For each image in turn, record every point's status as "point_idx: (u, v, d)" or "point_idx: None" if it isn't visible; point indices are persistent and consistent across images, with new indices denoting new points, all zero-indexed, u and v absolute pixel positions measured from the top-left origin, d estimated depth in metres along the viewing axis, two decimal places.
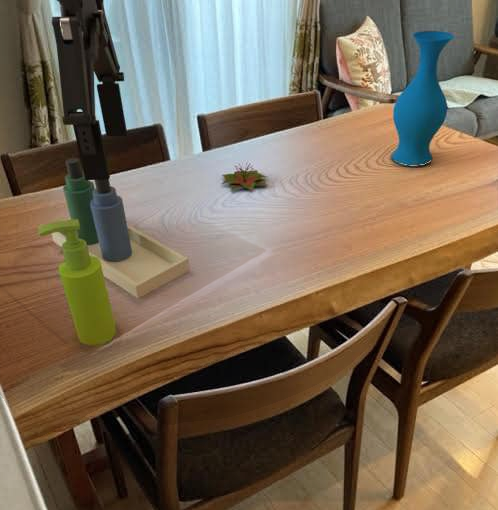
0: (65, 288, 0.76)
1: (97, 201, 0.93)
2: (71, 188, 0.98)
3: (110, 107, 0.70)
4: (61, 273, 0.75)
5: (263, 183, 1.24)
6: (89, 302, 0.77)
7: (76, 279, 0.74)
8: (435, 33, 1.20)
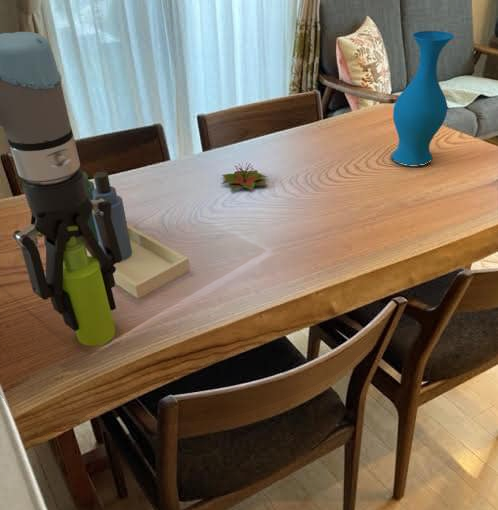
0: (63, 289, 0.76)
1: None
2: None
3: None
4: None
5: (263, 183, 1.24)
6: (88, 303, 0.77)
7: (75, 280, 0.74)
8: (435, 33, 1.20)
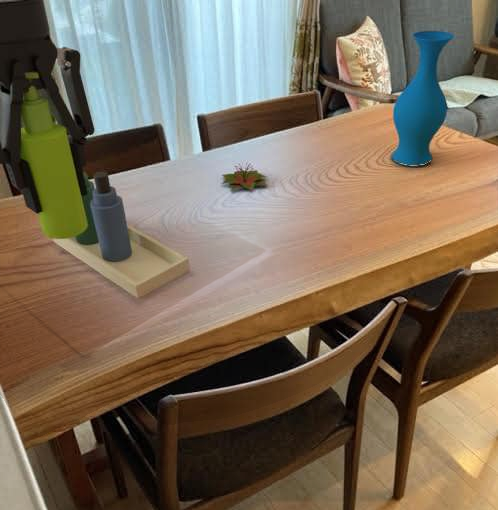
0: (23, 158, 0.64)
1: (97, 201, 0.93)
2: None
3: None
4: None
5: (263, 183, 1.24)
6: (52, 177, 0.65)
7: (35, 143, 0.62)
8: (435, 33, 1.20)
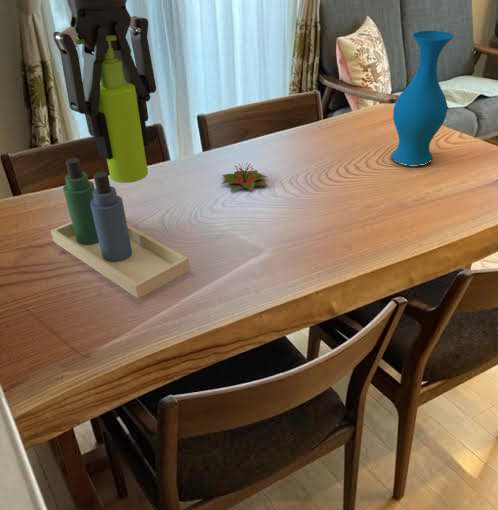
0: (99, 110, 0.76)
1: (97, 201, 0.93)
2: (71, 188, 0.98)
3: None
4: None
5: (263, 183, 1.24)
6: (123, 126, 0.77)
7: (112, 96, 0.74)
8: (435, 33, 1.20)
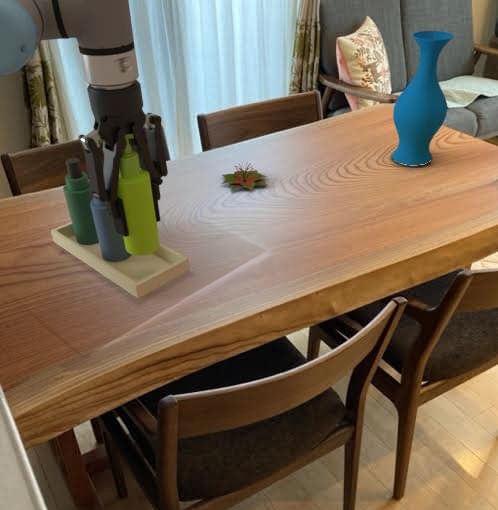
0: (117, 195, 0.85)
1: (97, 201, 0.93)
2: (71, 188, 0.98)
3: None
4: None
5: (263, 183, 1.24)
6: (139, 209, 0.86)
7: (129, 185, 0.83)
8: (435, 33, 1.20)
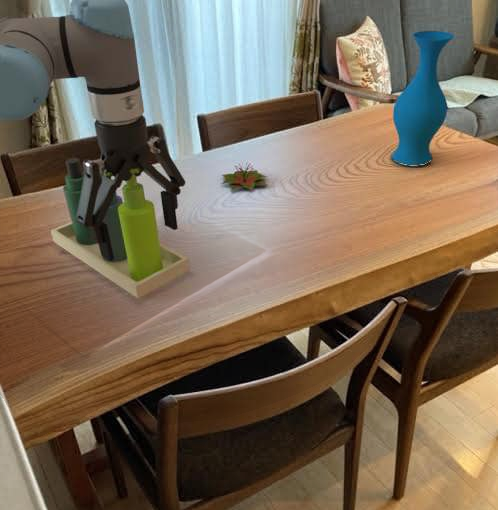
0: (123, 226, 0.89)
1: None
2: (71, 188, 0.98)
3: (166, 208, 0.94)
4: (121, 212, 0.87)
5: (263, 183, 1.24)
6: (143, 239, 0.89)
7: (134, 217, 0.87)
8: (435, 33, 1.20)
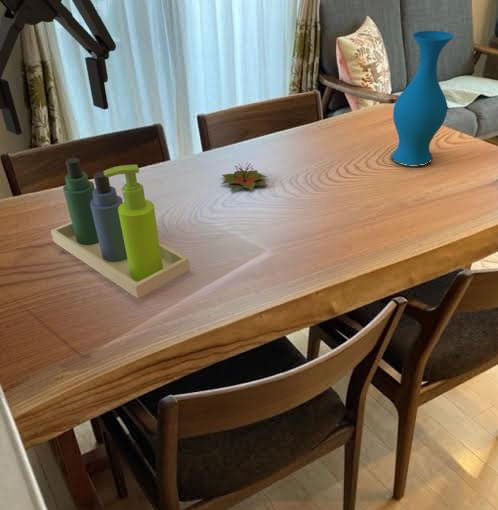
0: (123, 226, 0.89)
1: (97, 201, 0.93)
2: (71, 188, 0.98)
3: (93, 80, 0.76)
4: (121, 212, 0.87)
5: (263, 183, 1.24)
6: (143, 239, 0.89)
7: (134, 217, 0.87)
8: (435, 33, 1.20)
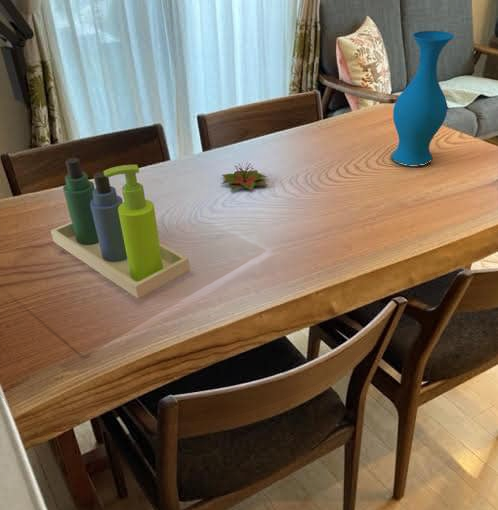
0: (123, 226, 0.89)
1: (97, 201, 0.93)
2: (71, 188, 0.98)
3: (11, 71, 0.69)
4: (121, 212, 0.87)
5: (263, 183, 1.24)
6: (143, 239, 0.89)
7: (134, 217, 0.87)
8: (435, 33, 1.20)
